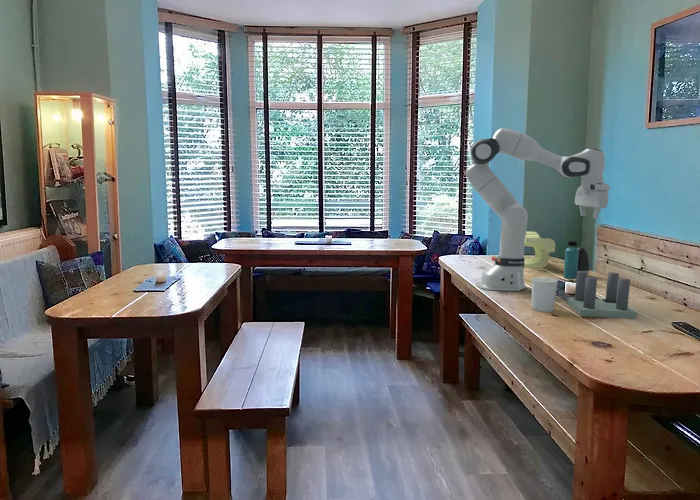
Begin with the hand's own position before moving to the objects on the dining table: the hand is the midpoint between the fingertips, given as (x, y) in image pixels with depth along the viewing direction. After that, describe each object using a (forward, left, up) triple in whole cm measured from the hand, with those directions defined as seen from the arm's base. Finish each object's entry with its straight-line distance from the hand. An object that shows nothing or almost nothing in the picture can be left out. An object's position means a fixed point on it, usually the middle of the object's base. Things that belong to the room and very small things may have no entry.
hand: (589, 216), depth 246 cm
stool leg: (-5, -28, -34) cm, 44 cm away
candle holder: (-34, -28, -34) cm, 56 cm away
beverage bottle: (+6, +22, -34) cm, 41 cm away
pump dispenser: (+18, +34, -34) cm, 52 cm away
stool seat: (-12, -32, -34) cm, 48 cm away
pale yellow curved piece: (+6, +64, -34) cm, 73 cm away
